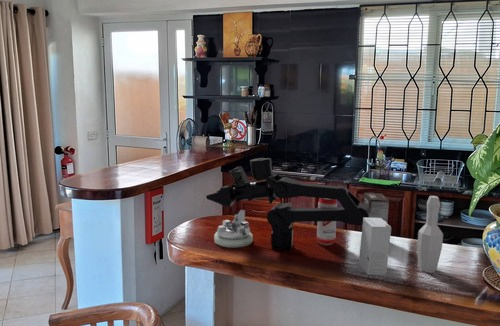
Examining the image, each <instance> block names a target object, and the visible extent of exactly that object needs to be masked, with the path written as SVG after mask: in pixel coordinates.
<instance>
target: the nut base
mask: <svg viewBox="0 0 500 326" xmlns="http://www.w3.org/2000/svg"><path fill="white" fill-rule="evenodd" d="M253 237H254V236H253V233H252V232H250V235H249V237H247V238H244V239H239V240H228V239H223V238H220V237H219V236H218V235H217V231H216V232H215V233H214V236H213V238H214V239H213V240H214V243H215V244H216V245H218V246H220V247H225V248H234V249H235V248H244V247H247V246H250V245H251V244H252V243H253Z"/></svg>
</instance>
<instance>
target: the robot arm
mask: <svg viewBox="0 0 500 326" xmlns="http://www.w3.org/2000/svg"><path fill="white" fill-rule="evenodd" d="M249 164H250V168H251V175H252V178H253V179H254V180H256V181H254V180H249V179H248V176H247V174H246V172H245V169H244V168H243V167H242V166H241V165H240V166H236V167H235V168H233V169H231V170H229V174H230V176H231V177H232V179H233V183H232V185H225V186H222V187H220V188H219V190H216V192H213V193H210V194H207V195H206V196H205V198H206V200H209V201H212V202H214V203H217V204H218V205H220V206H222V207H223V208H224V207H225V208H226V207H231V206H233V205H234V203H235V202H236V203H239V202H242V201H249V202H250V201H252V202H253V200H261V199H262V200H263V199H268V204H270V205H272V204H273V203H274V202H275V201H276V199H292V198H298V197H305V198H306V197H307V198H319V199H320V198H326V199H336V201H337V202H339V204H340V205H341V206H340V207H339V206H337V207H335V208H318V207H302V208H301V207H298V208H297V207H293V206H292V202H286V203H284V202H279V203H278V204H275V205H274V206H272V208H271V209H270V210H269V211H268V212H267V215H266V221H267V222H268V224H269V225H270V226H271V230H272V231H271V233H270V246H271V249H272V250H281V251H282V250H283V251H292V250H293V245H294V241H293V240H294V239H293V237H294V227H293V225H294V223H301V222H303V223H304V222H306V223H308V222H317V221H336V222H341V223H344V224H347V225H351V226H356V227H357V226H359V227H362V225H363V218H369V215H370V209H369V207H368V206H367V205H366V204H365V203H364V202H361V200H360V199H359V198H357V196H356V195H354V193H352V192H351V191H350V190H349V189H348V187H346V186H345V185H330V184H329V185H328V184H318V183H309V182H308V183H305V182H302V181H299V180H297V179H294V178H290V177H283V176H281V175H279V174H278V173H276V172H273V167H272V158H270V157H267V158H265V157H259V158H254V159H250V160H249Z"/></svg>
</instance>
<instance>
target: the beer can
mask: <svg viewBox="0 0 500 326" xmlns="http://www.w3.org/2000/svg"><path fill="white" fill-rule="evenodd" d="M317 203H318V204H317V208H335V207H338V200H336V199H326V198H319V200H318V202H317ZM316 222H317V224H316V225H317V226H316V228H317V229H316V242H317V243H318V244H319V245H321V246H333V244H334V243H335V242H336V235H337V234H336V233H337V221H316Z"/></svg>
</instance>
